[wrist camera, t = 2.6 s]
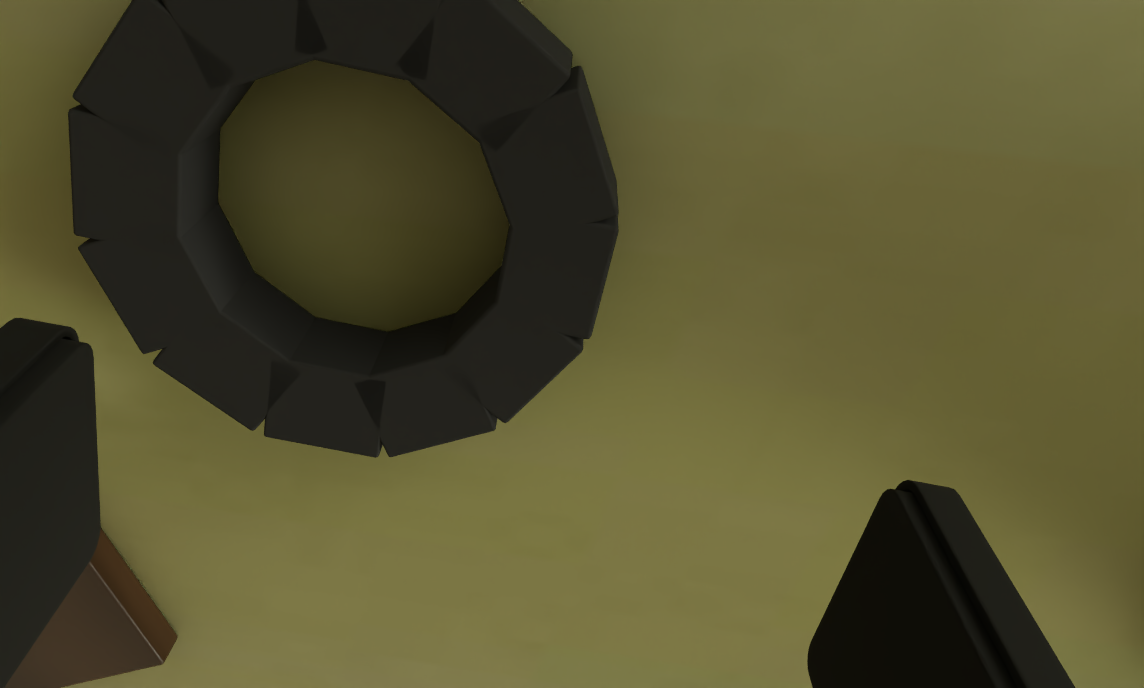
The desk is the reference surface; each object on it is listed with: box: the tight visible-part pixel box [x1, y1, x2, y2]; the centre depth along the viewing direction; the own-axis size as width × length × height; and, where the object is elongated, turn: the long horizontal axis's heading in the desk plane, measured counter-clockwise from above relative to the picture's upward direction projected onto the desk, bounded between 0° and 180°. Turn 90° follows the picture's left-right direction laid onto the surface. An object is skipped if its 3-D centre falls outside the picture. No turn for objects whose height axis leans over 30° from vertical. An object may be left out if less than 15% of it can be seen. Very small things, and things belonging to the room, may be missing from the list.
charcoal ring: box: [68, 0, 618, 457], centre depth 18 cm, size 10×10×2 cm
